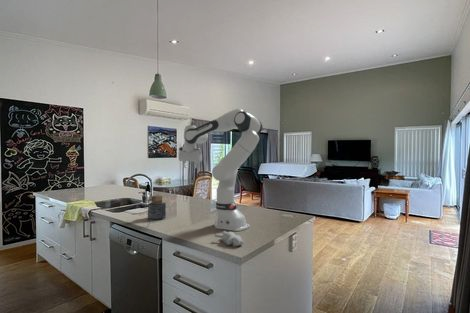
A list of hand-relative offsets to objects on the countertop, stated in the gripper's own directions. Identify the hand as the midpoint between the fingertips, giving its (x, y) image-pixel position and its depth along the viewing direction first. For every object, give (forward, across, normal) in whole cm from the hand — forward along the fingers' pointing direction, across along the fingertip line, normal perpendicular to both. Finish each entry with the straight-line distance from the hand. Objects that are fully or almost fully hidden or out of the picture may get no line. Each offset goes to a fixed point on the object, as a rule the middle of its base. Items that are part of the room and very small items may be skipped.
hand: (190, 167), depth 191 cm
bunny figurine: (+34, -56, +30) cm, 72 cm away
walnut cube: (+24, +13, +19) cm, 33 cm away
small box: (+34, +13, +19) cm, 41 cm away
